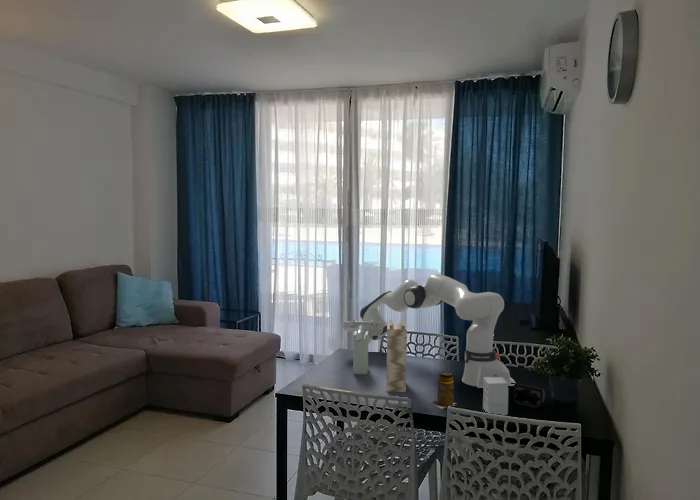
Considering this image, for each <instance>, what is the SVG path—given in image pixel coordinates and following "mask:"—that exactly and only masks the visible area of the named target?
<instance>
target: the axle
mask: <svg viewBox="0 0 700 500" xmlns="http://www.w3.org/2000/svg"><path fill="white" fill-rule="evenodd" d="M363 333H364V326H363V325H360V326H359V327H358V330H357V334H356V337H355V339H356V341H361V340H362V337H363Z"/></svg>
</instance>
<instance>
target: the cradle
mask: <svg viewBox="0 0 700 500" xmlns="http://www.w3.org/2000/svg"><path fill="white" fill-rule="evenodd" d="M356 334H357V331H355V332H353V339H352V342H353V349H352V350H353V353H352V355H353V356H352V357H353V358H352V361H353V364H352V366H353V367H352V370H353V373H352V374H353V375H368V372H369V344H368V331H366V333H365V335H364V334H363V337H362V340H361V341H356V339H355V337H356Z"/></svg>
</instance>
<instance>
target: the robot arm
mask: <svg viewBox="0 0 700 500" xmlns="http://www.w3.org/2000/svg"><path fill="white" fill-rule="evenodd" d="M443 302H444V303H446V304H448V305H450V306H452V307H454V309H455V312H456V315H457V316H458V318H460V319H462V320H463V321H464V320H465V321H472V323H471V325H470V326H469V328H468V329H467V332H466V343H465V344H466V346H465V349H464V362H465V363H464V371H463V375H462V378H461V381H462V383H464V384H466V385H468V386H472V387H475V386H476V388H477V389H480V388H483V378H484V377H502V378H503V379H504V380H506V381H507V383H508V386H514V385H515V384H516V381H515V380H514V379H513V378H512V377H511V375H510V373H511V372H510V370H509V368H508V367H506V365H504V364H503V363H502V362H501V361H500V360H499V359H500V358H501V357H500V354H499V352H498V353H497V351H496V350H493V344H494V340H493V339H494V332H495V331H494V330H495V327H496V324H497V321H498V320H499V319H498V318H499V317H500V315H501V313H502V312H503V311H504V309H505V301H504V298H503V297H502V295H500V294H499V293H496V292H492V291H486V292H477V293H476V292H472V291H470V290H469V288H468V286H467V285H466V284H464V283H462V282H461V281H460V282H459V280H456V279H454V278H452V277H450V276H446V275H444V274H439V273H433V274H432V275H430V276H429V277H427V280H426V282H425V284H419V283H418V282H417V281H416V280H413V279H406V280H404V281H403V282H402V283H400V284H399V286H397V288H395V290H393V291H391V290H388V291H385V292H383V293H382V294H381V295H379V296H378V297H376V298H375V299H373V300H372V301H371V302H370V303H368V304H367V305H365V306H363V307H362V308H361V309H360V310H359V311H360V312H359V317H360V319H361V320H362V321H355V320H354V319H353V320H351V321H347V320H346V321H343V324H342V328H343V330H344V331H345V332H347V333H354V332H355V331H357V330H358V327H359V326H360V325H363V326H364V333H363V334H364V335H365V333H366V331H368V345H369V344H371V343H372V342H373V341H377V340H381V339H382V338H384V337H385V336H387V323H388V322H387V321H386V320H385V318H384V317H383V315H382V314H381V312H380V311H379V307H381V306H382V305H385V306H387V307H388V308H389V309H390V310H393V311H394V312H398V313H399V312H401V313H402V312H405V311H406V310H408V309H423V308H424V309H425V308H431V307H434V306H435V307H436V306H439V305H441V304H443ZM511 383H515V384H511Z"/></svg>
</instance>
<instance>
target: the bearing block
mask: <svg viewBox="0 0 700 500" xmlns="http://www.w3.org/2000/svg"><path fill="white" fill-rule="evenodd" d="M407 331H408V328H407V323H405V320H404V319H400V322H399V323H398V322H393V319H389V322H387V333H386V388H385V390H386V392H389V393H390V392H392V393H406V392H407V352H408V350H407V345H408V344H407V343H408V340H407V339H408V332H407Z"/></svg>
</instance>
